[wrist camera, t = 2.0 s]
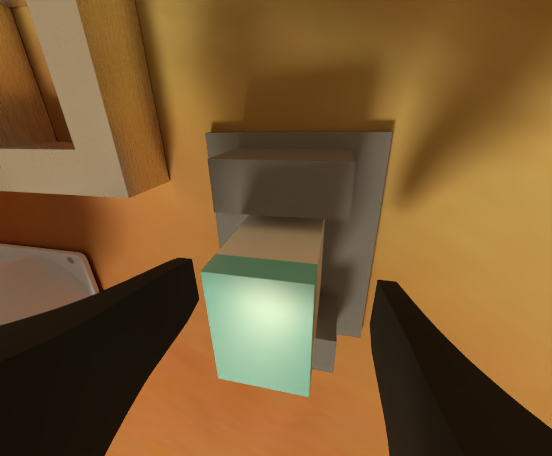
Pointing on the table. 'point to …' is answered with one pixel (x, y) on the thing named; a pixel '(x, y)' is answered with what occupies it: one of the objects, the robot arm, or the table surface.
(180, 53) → the table surface
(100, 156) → the port
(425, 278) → the table surface
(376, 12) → the table surface
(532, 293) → the table surface
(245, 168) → the holster
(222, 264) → the plug
